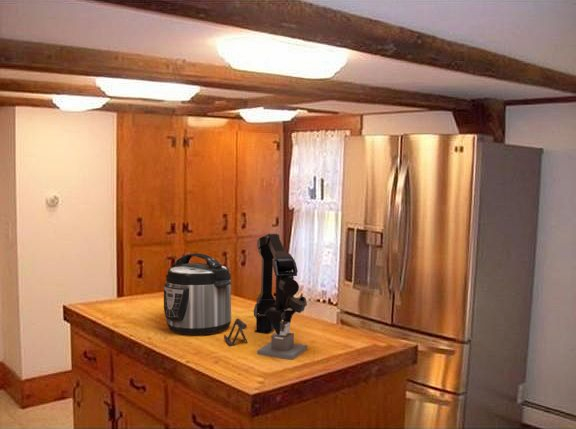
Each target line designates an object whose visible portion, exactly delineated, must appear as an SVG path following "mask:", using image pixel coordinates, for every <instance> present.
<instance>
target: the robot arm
mask: <svg viewBox="0 0 576 429" xmlns="http://www.w3.org/2000/svg"><path fill="white" fill-rule="evenodd" d="M256 241H257V242H256V247H257V252H258V254H259V256H260V257H261V273H260V274H261V275H260V276H261V278H260V284H261V286H260V293H259V295H258V297H257V298H256V303H255V304H254V309H253V317H254V318H255V320H256V321H255V322H256V324H255V327H256V329H255V330H254V332H255V333H262V334H270V333H272V332H274V331H275V333H276V334H278V335H279V334H280V331H281V324H282V321H287V322H290V323H291V322H292V318H293V316H294V314H295V313H298V314H300V313H302V312H304V311H305V307H307V305H308V303H307V297H305V296H300V297H295V295H296V294H297V293H298V292H299V290H300V285H299V283H298V282H297V280H295V277H297V276H298V272H299V271H298V267H297V263H296V261H295V259H294V257H293V256H292V255H291V254H290V253H289V252H286V250H285V247H284V246H283V243H282V241H281V237H280V234H278V233H267V234H265V235H264V236H262V237H259V238H258V239H257V240H256ZM273 272H274V276H275V292H273Z"/></svg>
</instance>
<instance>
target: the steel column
mask: <svg viewBox="0 0 576 429" xmlns="http://www.w3.org/2000/svg"><path fill="white" fill-rule="evenodd" d="M290 333H291V322H287V321H283V320H282V324H281V331H280V334H279V335H278V334H276V336H283V337H287V336H288V335H290Z"/></svg>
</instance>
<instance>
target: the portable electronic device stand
mask: <svg viewBox="0 0 576 429" xmlns="http://www.w3.org/2000/svg"><path fill="white" fill-rule="evenodd" d="M236 327H238V329H237V331H236V333H235V336H234V338H233V340H231V337H232V335H233V333H234V330H235V328H236ZM247 328H248V326H247V324H246V323H245V322H244V321H243V320H241V319H240V318H236V319H235V321H234V323H233V325H232V328H231V329H230V332H229V334H228V335H227V336H226V334H224V335H223V339H224V341H225V342H226V343H227V344H228V345H229V346H231V347H233V346H235V344H236V341H237V339H238V336H239V335H240V334H241V336H242V339H243V341H245V344H246V343H248V340H247V338H246V335H245V333H244V331H243V330H246V329H247Z"/></svg>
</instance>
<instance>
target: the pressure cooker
mask: <svg viewBox="0 0 576 429" xmlns="http://www.w3.org/2000/svg"><path fill="white" fill-rule="evenodd" d="M192 257H196V258H200V259H203V260H205V261H206V263H201V262H190V261H191V258H192ZM163 312H164V316H165V318H166V325H167V327H168V329H169V330H170V331H171V332H173V333H177V334H180V335H181V334H182V335H193V336H194V335H197V336H198V335H199V336H202V335H209V334H215V333H218V332H221V331H224V330H227V329H228V328H229V327H230V325H231V323H232V274H231V273H230V268H229V267H228V266H226V265H222V263H221V262H220V261H219V260H217V259H215V258H214V257H212V256H210V255H208V254H203V253H196V252H195V253H189V254H188V253H187V254H186V255H185V254H184V255H183V256H181V257H179V258H177V259H176V261H175V262H174V263H172V264H171V267H170V268H168V269H167V274H166V276H165V283H164V284H163Z"/></svg>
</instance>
